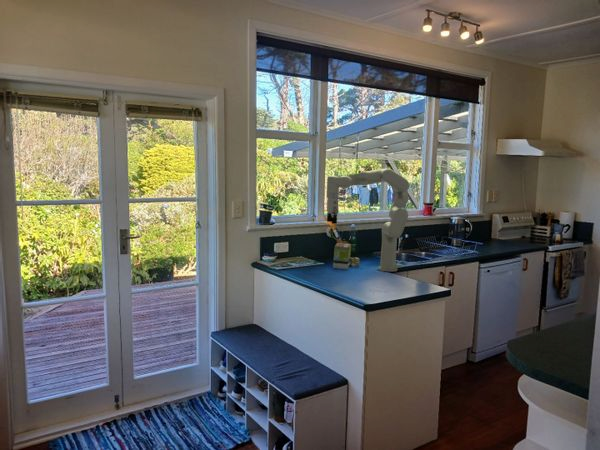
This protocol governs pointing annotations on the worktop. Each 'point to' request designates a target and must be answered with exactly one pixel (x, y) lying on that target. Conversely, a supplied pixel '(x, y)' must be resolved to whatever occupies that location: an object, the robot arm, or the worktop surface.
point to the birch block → (354, 261)
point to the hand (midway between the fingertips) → (331, 222)
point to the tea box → (342, 256)
